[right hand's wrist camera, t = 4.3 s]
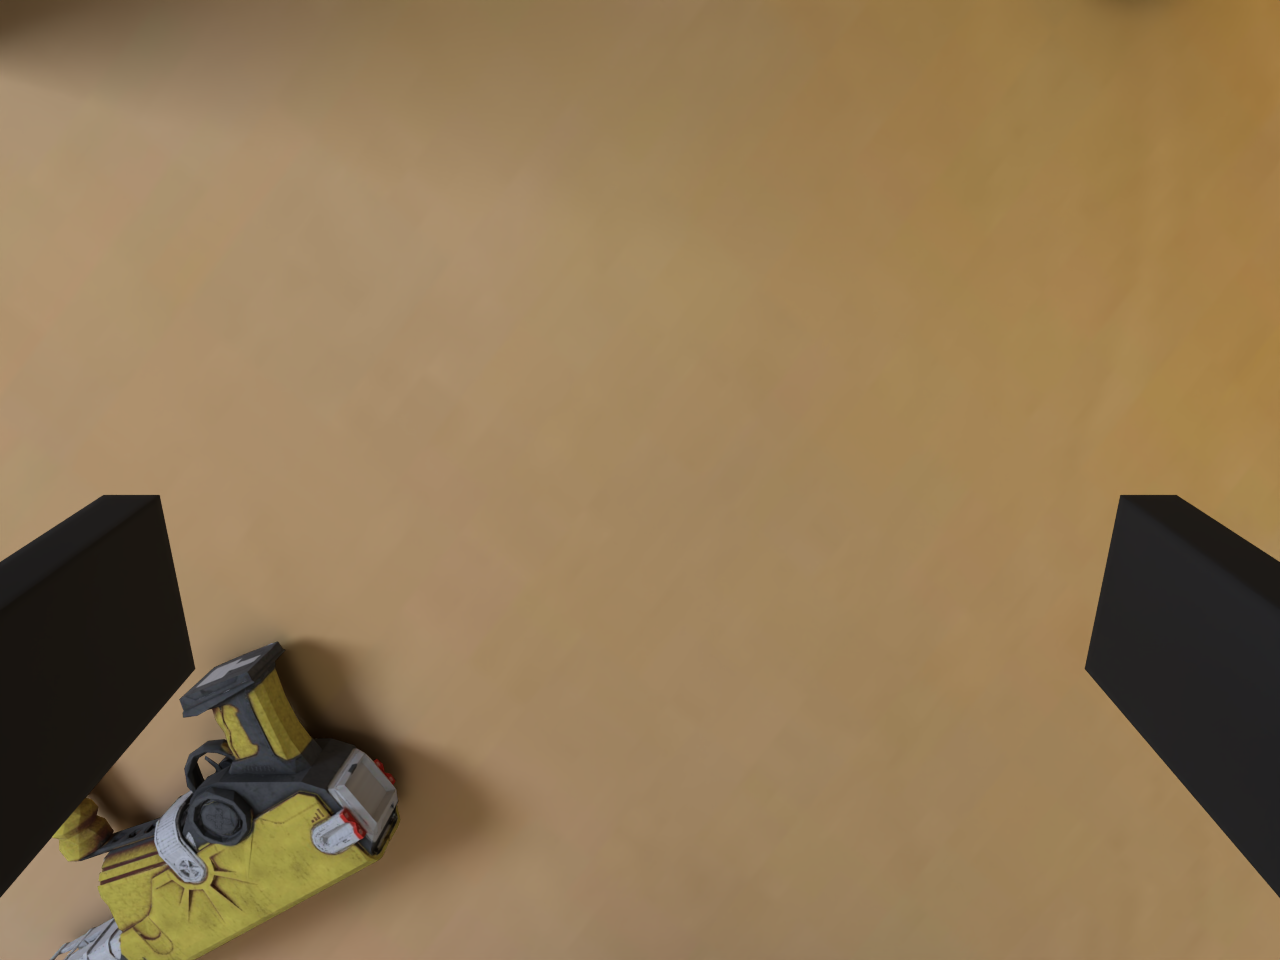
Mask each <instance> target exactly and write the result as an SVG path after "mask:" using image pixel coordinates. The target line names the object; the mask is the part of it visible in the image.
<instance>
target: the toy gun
mask: <svg viewBox="0 0 1280 960" xmlns="http://www.w3.org/2000/svg"><path fill="white" fill-rule="evenodd" d="M284 651H285V649H283V648H282V647H281V645H280V644H279V642H275V643H272V644H270V645H267V646H264V647H262V648H259V649H257V650H254V651H252V652H249V653H247V654H244V655H242V656H239V657H237V658H235V659H232V660H230V661H228V662H225V663H223V664H221V665H219V666H216V667H214V668H213V669H212V670H211V671H210V672H209V673H208V674H206V675H205V676H204V677H203V678H202V679H201V680H200V681H199V682H198V683H197V684H196V685H194V686H193V687H192V688H191V689H190V690H189V691H188V692H187V693H186V694H185V695H184V696H182V697H181V698H180V699H179V700H180V702H181V705H182V707H183V710H184V711H183V718H184V717H191V716H198V715H199V714H201V713H203V712H205V711H206V710H209V709H212V710H213V713H214V716H215V719H216V721H217V723H218V724H219V726H220V727H221V728H222V730H223V731H224V733H225V736H226V739H227V740H225V739H222V740H212V741H207V742H206V743H205V744H203V745H202V746H201V747H199V748H198V749H196V750H195V751H194V752H192V753H191V754H190V755H189V757H188V760H187V763H186V765H185V768H184V769H185V775H186V781H187V787H188V788H189V789H190V790H191V791H189V792H188V793H186V794H184V795H182V796H180V797H179V798H178V799H177V800H176V801H175V803H174V804H173V805H172V806H171V807H170V808H169V809H168V810H167V811H166V813H165V814H164V815H163V816H162V817H161V818H158V819H155V820H152V821H149V822H146V823H143V824H140V825H137V826H134V827H131V828H128V829H125V830H122V831H119V832H116V833H113V829H112V828H111V826H110V825H109V824H108V822H107V821H106V819H105V818H102V817H100V816H97V811H98V806H97V805H96V804H95V802H94V801H93V800H92V799H88V798H85V799H84V800H83V801H82V802H81V803H80V805H79V806H78V807H77V808H76V809H75V811H74V812H73V813H72V814H71V815H70V816H69V818H68V819H67V820H66V821H65V822H64V823H63V825H62V826H61V827H60V828H59V829H58V830H57V832H56V833H55V834H54V835H53V836H52V837H53V838H56V839H59V850H60V852H61V853H62V854H63V855H64V857H65V858H66V859H67V860H68V861H82V860H85V859H88V858H91V857H94V856H97V855H100V854H103V853H106V852H109V851H110V852H109V853H108V855H107V856H106V857H105V858H104V863H103V865H102V872H101V873H100V875H99V881H100V886H98V890H99V893H100V896H101V898H102V899H103V900H104V902H105V903H106V904H107V905H108V906H109V908H110V911H111V913H112V915H113V918H112V919H110V920H109V921H107V922H105V923H103V924H102V925H100V926H98V927H94V928H91V929H90V930H89V931H88V932H87V933H86V934H84V935H83V936H81V937H79V938H77V939H76V940H74V941H72V942H69V943H66V944H64V945H63V946H62V947H61V948H60V949H59V950H58V951H57V952H56V953H55V954H54V956H53V957H52V958H51V959H50V960H54V959H55V958H56V957H57V956H58V955H60V954H62V953H65V952H67V951H70V950H72V949H73V950H72V951H71V952H70V953H69V954H68V955H67V957H66V958H65V959H64V960H195V959H197V958H199V957H201V956H203V955H204V954H206V953H208V952H210V951H212V950H214V949H215V948H217V947H219V946H221V945H223V944H225V943H227V942H228V941H230V940H232V939H234V938H236V937H238V936H239V935H241V934H243V933H245V932H247V931H249V930H251V929H252V928H254V927H256V926H258V925H260V924H262V923H263V922H265V921H267V920H269V919H271V918H273V917H275V916H276V915H278V914H280V913H282V912H284V911H286V910H287V909H289V908H291V907H293V906H295V905H297V904H298V903H300V902H302V901H304V900H306V899H308V898H310V897H311V896H313V895H315V894H317V893H319V892H321V891H322V890H324V889H326V888H328V887H330V886H332V885H334V884H335V883H337V882H339V881H341V880H343V879H345V878H346V877H348V876H350V875H352V874H354V873H356V872H358V871H359V870H361V869H363V868H365V867H367V866H369V865H370V864H372V863H374V862H376V861H378V860H379V859H380V858H382V856H383V854H384V852H385V850H386V848H387V845H388V843H389V841H390V840H391V838H392V836H393V834H394V833H395V831H396V829H397V827H398V825H399V822H400V816H399V812H398V808H397V803H398V797H397V791H396V788H395V787H394V786H393V785H394V783H395V779H394V778H393V776H392V775H391V774H390V773H385V771H384V767H383V764H382V763H381V762H380V761H379V760H378V759H375V760H372V759H371V758H370V757H369V756H368V755H366V754H365V753H364V752H362V751H361V750H359V749H357V748H356V747H355V745H351V744H348V743H345V742H342V741H338V740H335V739H332V738H325V739H313V738H312V737H310V735H309V734H308V733H307V731H306V730H305V729H304V727H303V726H302V725H301V723H300V722H299V721H298V719H297V717H296V715H295V713H294V712H293V710H292V708H291V706H290V704H289V702H288V700H287V698H286V696H285V693H284V691H283V688H282V685H281V683H280V680H279V677H278V675H277V672H276V669H275V660H276V659H277V658H278V657H279V656H280V655H281V654H282V653H283V652H284ZM207 752H209V753H219V754H221V755H224V756H226V757H225V758H224V759H223V760H222V761H221V762H220V763H219V765H218V764H217V763H215V762H214V761H212V760H211V759H209V758H208V757H206V756H205V759H206V760H207V761H208V762H209V763H210V764H211V765H212V766H214V767H215V769H216V772H215V773H214V774H213V775H211V776H209V777H207V778H206V780H205V781H204V779H203V776H202V774H201V771H200V768H199V766H198V763H197V761H198V759H199V758H200V757H201V756H203V755H204V754H206V753H207ZM76 948H79V950H78V951H76V952H75V953H73V952H74V951H75V950H76ZM72 953H73V954H72ZM71 954H72V955H71Z"/></svg>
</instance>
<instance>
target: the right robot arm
mask: <svg viewBox="0 0 1280 960" xmlns="http://www.w3.org/2000/svg"><path fill="white" fill-rule="evenodd" d="M194 670H195V665H194V660H193V656H192V651H191V646H190V641H189V636H188V631H187V626H186V621H185V617H184V612H183V607H182V602H181V597H180V592H179V587H178V582H177V578H176V573H175V568H174V563H173V558H172V553H171V548H170V543H169V539H168V534H167V529H166V524H165V519H164V514H163V509H162V504H161V500H160V495H103V496H101V497H100V498H98V499H97V500H95V501H94V502H92V503H90V504H89V505H87V506H86V507H84V508H83V509H81V510H80V511H78V512H77V513H75V514H74V515H72V516H70V517H69V518H67V519H66V520H64V521H63V522H61V523H60V524H58V525H57V526H55V527H54V528H52V529H50V530H49V531H47V532H46V533H44V534H43V535H41V536H40V537H38V538H37V539H35V540H33V541H32V542H30V543H29V544H27V545H26V546H24V547H23V548H21V549H20V550H18V551H17V552H15V553H13V554H12V555H10V556H9V557H7V558H6V559H4V560H3V561H1V562H0V897H1V896H2V895H3V894H4V893H5V891H6V890H7V889H8V888H9V887H10V886H11V884H12V883H13V882H14V881H15V880H16V879H17V877H18V876H19V875H20V874H21V873H22V872H23V870H24V869H25V868H26V867H27V866H28V865H29V863H30V862H31V861H32V860H33V859H34V857H35V856H36V855H37V854H38V853H39V852H40V850H41V849H42V848H43V847H44V846H45V845H46V843H47V842H48V841H49V840H50V839H51V838H52V836H53V835H54V834H55V833H56V832H57V830H58V829H59V828H60V827H61V826H62V825H63V823H64V822H65V821H66V820H67V819H68V818H69V816H70V815H71V814H72V813H73V812H74V811H75V809H76V808H77V807H78V806H79V805H80V803H81V802H82V801H83V800H84V799H85V798H86V796H87V795H88V794H89V793H90V792H91V791H92V789H93V788H94V787H95V786H96V785H97V784H98V782H99V781H100V780H101V779H102V778H103V776H104V775H105V774H106V773H107V772H108V771H109V769H110V768H111V767H112V766H113V765H114V764H115V762H116V761H117V760H118V759H119V758H120V757H121V755H122V754H123V753H124V752H125V751H126V749H127V748H128V747H129V746H130V745H131V744H132V742H133V741H134V740H135V739H136V738H137V737H138V735H139V734H140V733H141V732H142V731H143V730H144V728H145V727H146V726H147V725H148V724H149V723H150V721H151V720H152V719H153V718H154V717H155V715H156V714H157V713H158V712H159V711H160V710H161V708H162V707H163V706H164V705H165V704H166V703H167V701H168V700H169V699H170V698H171V697H172V696H173V694H174V693H175V692H176V691H177V690H178V688H179V687H180V686H181V685H182V684H183V683H184V681H185V680H186V679H187V678H188V677H189V676H190V674H191V673H192V672H193V671H194ZM1085 670H1086V671H1087V672H1088V673H1089V674H1090V676H1091V677H1092V678H1093V679H1094V680H1095V681H1096V683H1097V684H1098V685H1099V686H1100V687H1101V688H1102V690H1103V691H1104V692H1105V693H1106V694H1107V696H1108V697H1109V698H1110V699H1111V700H1112V701H1113V703H1114V704H1115V705H1116V706H1117V707H1118V708H1119V710H1120V711H1121V712H1122V713H1123V714H1124V715H1125V717H1126V718H1127V719H1128V720H1129V721H1130V723H1131V724H1132V725H1133V726H1134V727H1135V728H1136V730H1137V731H1138V732H1139V733H1140V734H1141V735H1142V737H1143V738H1144V739H1145V740H1146V741H1147V742H1148V744H1149V745H1150V746H1151V747H1152V748H1153V749H1154V751H1155V752H1156V753H1157V754H1158V755H1159V757H1160V758H1161V759H1162V760H1163V761H1164V762H1165V764H1166V765H1167V766H1168V767H1169V768H1170V769H1171V771H1172V772H1173V773H1174V774H1175V775H1176V776H1177V778H1178V779H1179V780H1180V781H1181V782H1182V784H1183V785H1184V786H1185V787H1186V788H1187V789H1188V791H1189V792H1190V793H1191V794H1192V795H1193V796H1194V798H1195V799H1196V800H1197V801H1198V802H1199V803H1200V805H1201V806H1202V807H1203V808H1204V809H1205V811H1206V812H1207V813H1208V814H1209V815H1210V816H1211V818H1212V819H1213V820H1214V821H1215V822H1216V823H1217V825H1218V826H1219V827H1220V828H1221V829H1222V830H1223V832H1224V833H1225V834H1226V835H1227V836H1228V838H1229V839H1230V840H1231V841H1232V842H1233V843H1234V845H1235V846H1236V847H1237V848H1238V849H1239V850H1240V852H1241V853H1242V854H1243V855H1244V856H1245V857H1246V859H1247V860H1248V861H1249V862H1250V863H1251V865H1252V866H1253V867H1254V868H1255V869H1256V870H1257V872H1258V873H1259V874H1260V875H1261V876H1262V877H1263V879H1264V880H1265V881H1266V882H1267V883H1268V884H1269V886H1270V887H1271V888H1272V889H1273V890H1274V891H1275V893H1276V894H1277V895H1278V896H1279V897H1280V562H1279V561H1277V560H1276V559H1274V558H1273V557H1271V556H1270V555H1268V554H1267V553H1265V552H1263V551H1262V550H1260V549H1259V548H1257V547H1256V546H1254V545H1253V544H1251V543H1250V542H1248V541H1247V540H1245V539H1243V538H1242V537H1240V536H1239V535H1237V534H1236V533H1234V532H1233V531H1231V530H1230V529H1228V528H1226V527H1225V526H1223V525H1222V524H1220V523H1219V522H1217V521H1216V520H1214V519H1213V518H1211V517H1210V516H1208V515H1206V514H1205V513H1203V512H1202V511H1200V510H1199V509H1197V508H1196V507H1194V506H1193V505H1191V504H1190V503H1188V502H1186V501H1185V500H1183V499H1182V498H1180V497H1179V496H1177V495H1120V500H1119V504H1118V509H1117V514H1116V519H1115V524H1114V529H1113V534H1112V539H1111V543H1110V548H1109V553H1108V558H1107V563H1106V568H1105V573H1104V578H1103V582H1102V587H1101V592H1100V597H1099V602H1098V607H1097V612H1096V617H1095V621H1094V626H1093V631H1092V636H1091V641H1090V646H1089V651H1088V656H1087V660H1086V665H1085Z"/></svg>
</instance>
